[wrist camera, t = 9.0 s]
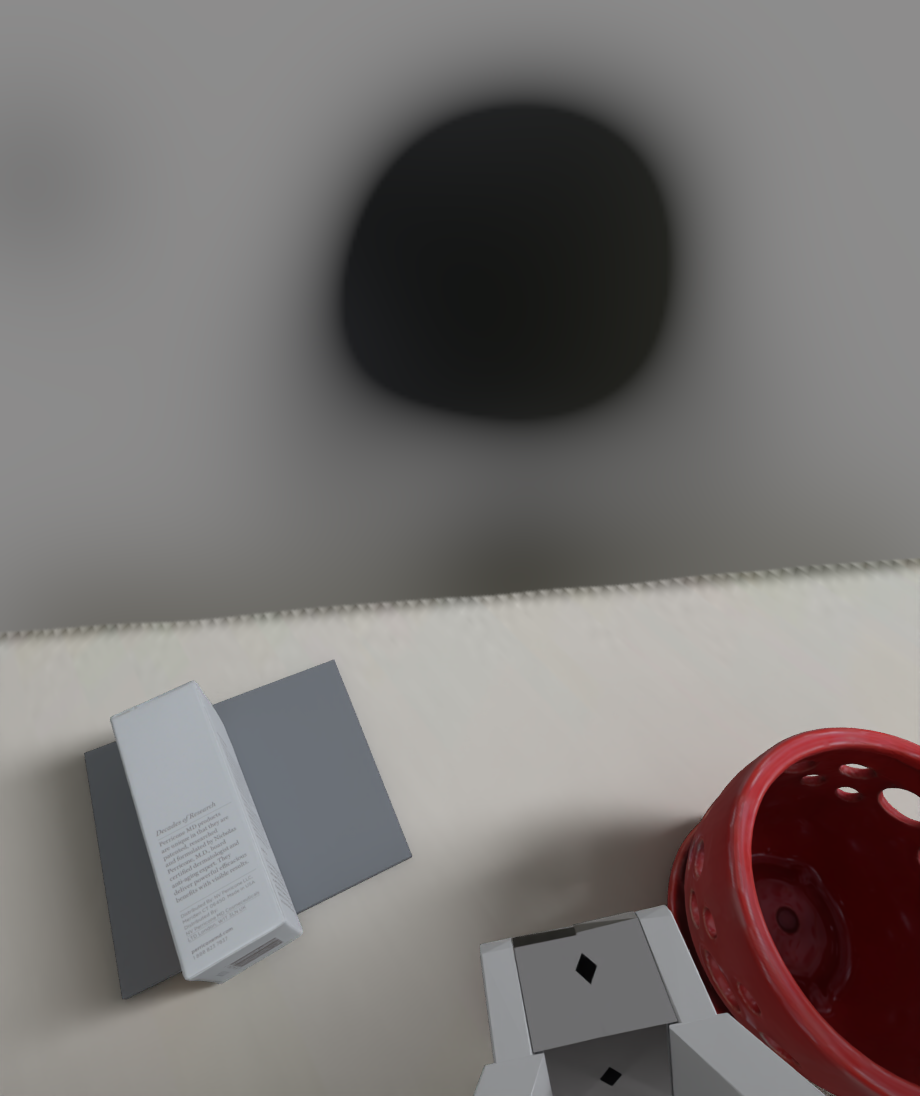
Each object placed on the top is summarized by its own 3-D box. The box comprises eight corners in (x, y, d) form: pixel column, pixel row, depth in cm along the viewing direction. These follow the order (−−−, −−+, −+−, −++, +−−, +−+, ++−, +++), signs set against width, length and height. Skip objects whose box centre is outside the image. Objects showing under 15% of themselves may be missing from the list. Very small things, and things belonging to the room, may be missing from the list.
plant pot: (771, 759, 38) (901, 675, 29) (947, 1003, 32) (1193, 1003, 22) (588, 858, 34) (667, 800, 24) (747, 1162, 28) (941, 1246, 18)
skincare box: (216, 989, 29) (147, 757, 35) (306, 935, 30) (225, 721, 36) (179, 985, 24) (105, 715, 30) (287, 921, 26) (197, 675, 31)
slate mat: (334, 663, 39) (334, 659, 39) (411, 857, 33) (412, 855, 33) (87, 756, 35) (84, 753, 34) (126, 999, 29) (122, 999, 29)
